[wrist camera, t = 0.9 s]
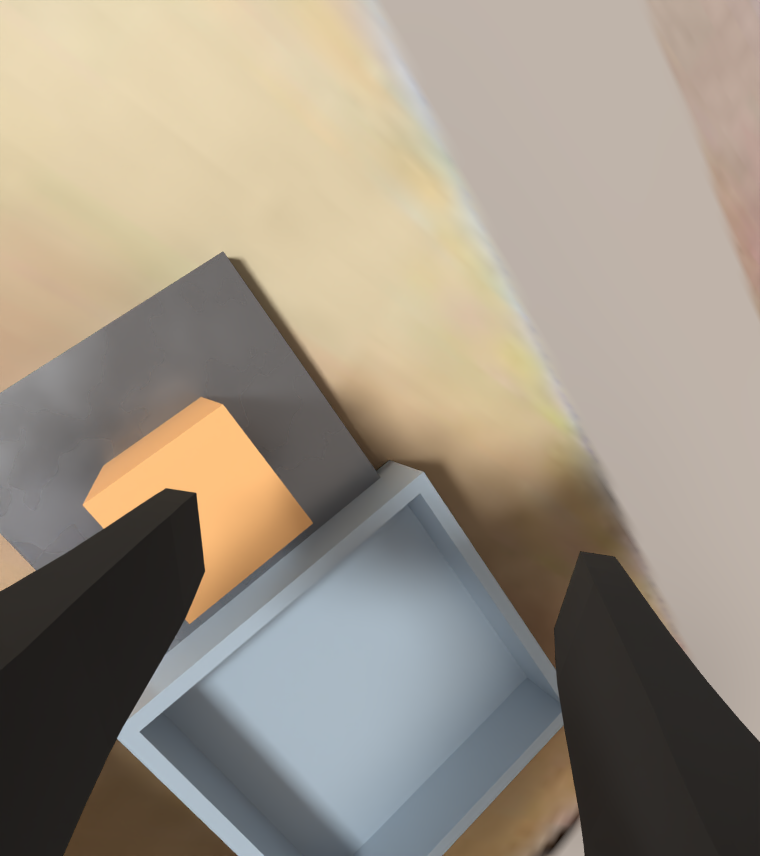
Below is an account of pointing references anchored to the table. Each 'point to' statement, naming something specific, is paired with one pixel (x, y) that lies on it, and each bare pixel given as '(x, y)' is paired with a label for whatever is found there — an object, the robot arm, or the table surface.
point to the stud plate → (168, 414)
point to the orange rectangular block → (206, 493)
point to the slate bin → (353, 690)
